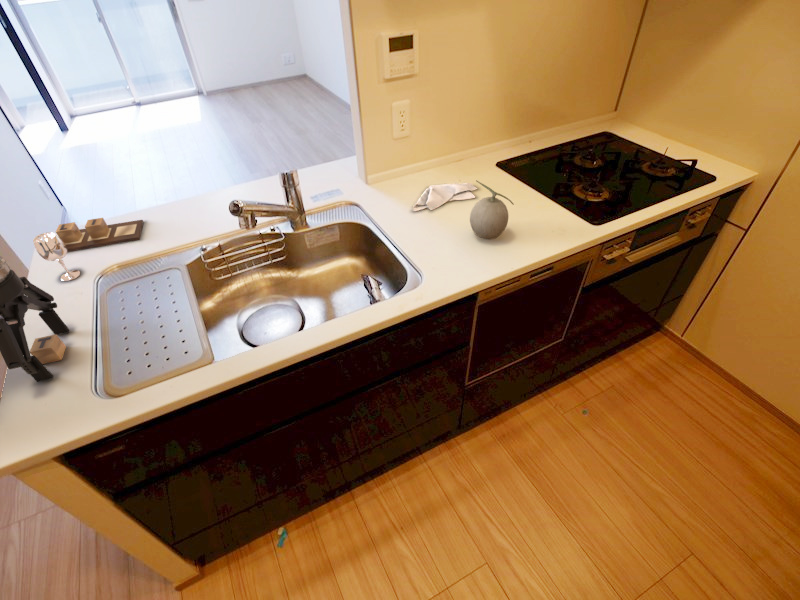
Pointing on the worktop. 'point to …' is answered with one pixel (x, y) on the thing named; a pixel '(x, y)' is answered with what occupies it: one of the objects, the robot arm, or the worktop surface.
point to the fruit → (489, 216)
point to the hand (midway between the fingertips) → (54, 354)
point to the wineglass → (54, 252)
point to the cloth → (443, 195)
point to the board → (109, 236)
